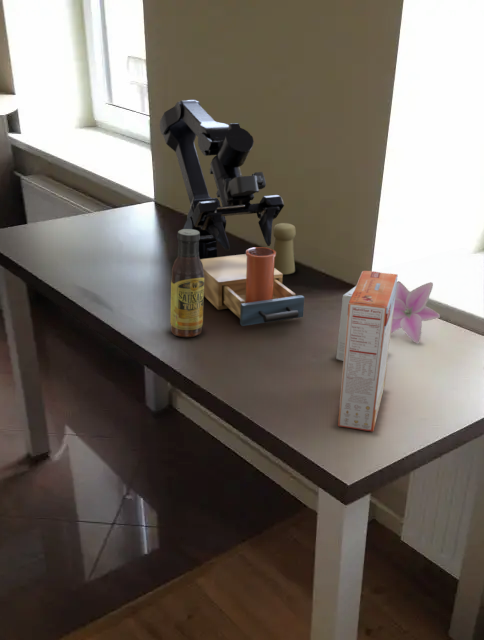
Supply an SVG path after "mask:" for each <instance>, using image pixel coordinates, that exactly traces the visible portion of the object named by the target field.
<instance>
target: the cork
mask: <svg viewBox="0 0 484 640" xmlns="http://www.w3.org/2000/svg"><path fill="white" fill-rule="evenodd" d="M272 233H273V237H274V244H273V248H272V249H273V250H275V251H276V256H275V263H274V268H275V269H277V270H278V271H279V272H281V273H282V274H283V275H291V274H294V273H295V272H296V265H295V252H294V239H295V236H296V233H297V232H296V227H295V225H293V224H291V223H289V222H280V223H277V224H275V225H274V227H273V228H272Z"/></svg>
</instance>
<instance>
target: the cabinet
mask: <svg viewBox="0 0 484 640" xmlns="http://www.w3.org/2000/svg"><path fill="white" fill-rule="evenodd" d="M200 260H201V262H202V264H203V272H204V298H205V299H206V300H208V302H210V304H211V305H212V306H214V308H216V310H217V311H222V310H229V308H228V307H227V306H226V305H225V304H224V303H223V302H222V285H229V284H236V283H244V282H246V261H247V256H246V253H244V254H236V255H235V254H233V255H225V256H217V257H216V258H208V259H200ZM283 276H284V274H282V273H281V272H279V271H278V270H277V269H275V268H274V279H276V280H278V281H279V282H280V283H282V284H283V278H284V277H283Z"/></svg>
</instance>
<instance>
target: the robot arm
mask: <svg viewBox="0 0 484 640" xmlns="http://www.w3.org/2000/svg"><path fill="white" fill-rule="evenodd" d="M240 125H241V124H240V123H238V122H237V123H229V124H228V123H224V122H219V121H215V120H214V118H213V117H212V116H211V115H210V114H208V112H207V111H206V110H205V108H203V107H202V106H201V103H200V101H199V100H196V99H186V100H185V99H183V100H179V101H177V102H176V103H175V104H174V106H172V107H171V108H169V109H168V110H166V111H164V112H163V114H162V116H161V117H160V121H159V130H160V133H161V135H162V136H163V138H164V141H165V144H166V145H167V146H168V147H169V148H170V149H171V150H173V151H174V153H175V155H176V158H177V163H178V165H179V169H180V173H181V175H182V180H183V183H184V186H185V189H186V193H187V197H188V200H189V204H190V207H189V210H188V212H187V216H186V220H185V223H184V225H183V227H182V229H193V230H197V231H199V232H200V240H199V245H198V246H199V247H198V252H199V258H200V259H208V258H216V257H218V247H217V244H220V246H222V247H223V248H224V250H225V251H227V252H228V251H230V250H231V249H230V243H229V239H228V237H227V234H226V228H227V219H226V217H231V216H241V215H251V214H256V217H257V218H258V219H259V220H258V221H257V223H258V226H259V229H260V231H261V234H262V236H263V240H264V242H265V244H266V246H267V247H270V246H271V244H272V233H273V222H274V220H275V219H277V217H278V216H279V215H280V213H281V211H282V210H283V208H284V207H285V203H284V200H283V197H282V196H280V195H278V194H273V195H263V196H262V198H261V200H260V201H259V202H257V203H256V202H255V203H251V201H253V200H254V198H255V195H254V194H255V193H256V194H257V193H259V192H260V190H262V189H265V188H266V186H267V185H266V184H267V183H266V178H265V175H264V172H263V171H256V172H254V173H252V174H251V175H244V176H243V175H242V171H241V168H240V167H241V166H243V165H244V164H245V162H246V160H247V159H248V157H249V155H250V152H251V150H252V148H253V146H254V142H255V141H254V137H253V136H252V134H250V133H251V132H249V130H246V129H244V128H242V127H241V126H240ZM196 137H197V146H198V149H199V150H200V152H201V153H202V155H204V156H205V157H207V156H208V157H209V156H213V157H212V159H211V162H210V165H209V166H210V167H209V174H210V175H213V178H214V182H215V185H216V189H217V191H216V193H215V194H216V196H217V197H211V196H210V193H209V190H208V186H207V182H206V179H205V177H204V173H203V168H202V166H201V162H200V159H199V156H198V152H197V149H196V145H195V141H196ZM219 199H220V200H219ZM217 242H218V243H217Z"/></svg>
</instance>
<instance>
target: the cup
mask: <svg viewBox="0 0 484 640" xmlns="http://www.w3.org/2000/svg"><path fill="white" fill-rule="evenodd" d="M245 254H246V256H247V261H246V295H245V303H249V302H256V301H263V300H270V299H273V284H274V263H275V256H276V251H275V250H273V248H270V247H264V246H263V247H262V246H258V247H257V246H256V247H255V246H254V247H250V248H248V249H246V250H245Z"/></svg>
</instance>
